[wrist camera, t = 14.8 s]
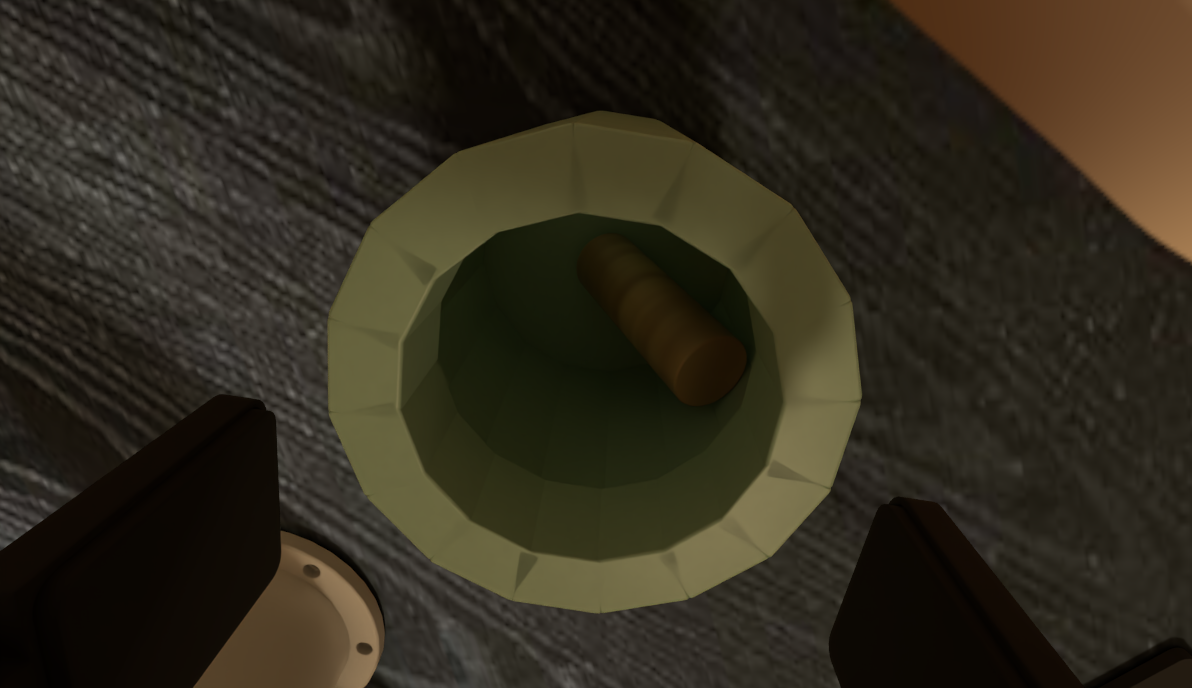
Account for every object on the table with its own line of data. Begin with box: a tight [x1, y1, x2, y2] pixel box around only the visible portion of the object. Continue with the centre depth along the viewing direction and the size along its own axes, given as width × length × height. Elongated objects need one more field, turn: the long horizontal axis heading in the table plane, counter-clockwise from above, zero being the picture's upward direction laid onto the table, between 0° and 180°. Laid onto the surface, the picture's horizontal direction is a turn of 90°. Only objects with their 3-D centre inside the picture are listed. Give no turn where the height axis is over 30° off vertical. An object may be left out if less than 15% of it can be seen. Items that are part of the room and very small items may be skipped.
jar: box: [328, 111, 862, 613], centre depth 20 cm, size 11×11×14 cm
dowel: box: [576, 233, 747, 406], centre depth 22 cm, size 3×3×8 cm
